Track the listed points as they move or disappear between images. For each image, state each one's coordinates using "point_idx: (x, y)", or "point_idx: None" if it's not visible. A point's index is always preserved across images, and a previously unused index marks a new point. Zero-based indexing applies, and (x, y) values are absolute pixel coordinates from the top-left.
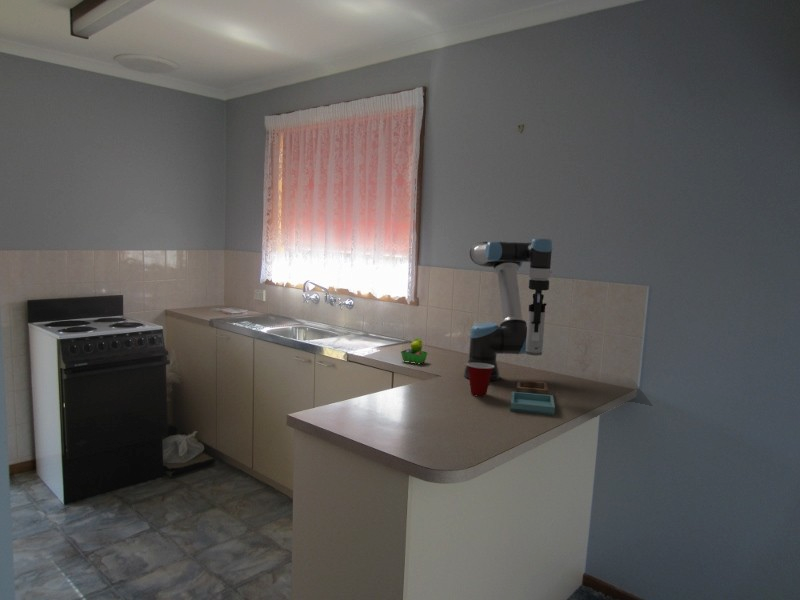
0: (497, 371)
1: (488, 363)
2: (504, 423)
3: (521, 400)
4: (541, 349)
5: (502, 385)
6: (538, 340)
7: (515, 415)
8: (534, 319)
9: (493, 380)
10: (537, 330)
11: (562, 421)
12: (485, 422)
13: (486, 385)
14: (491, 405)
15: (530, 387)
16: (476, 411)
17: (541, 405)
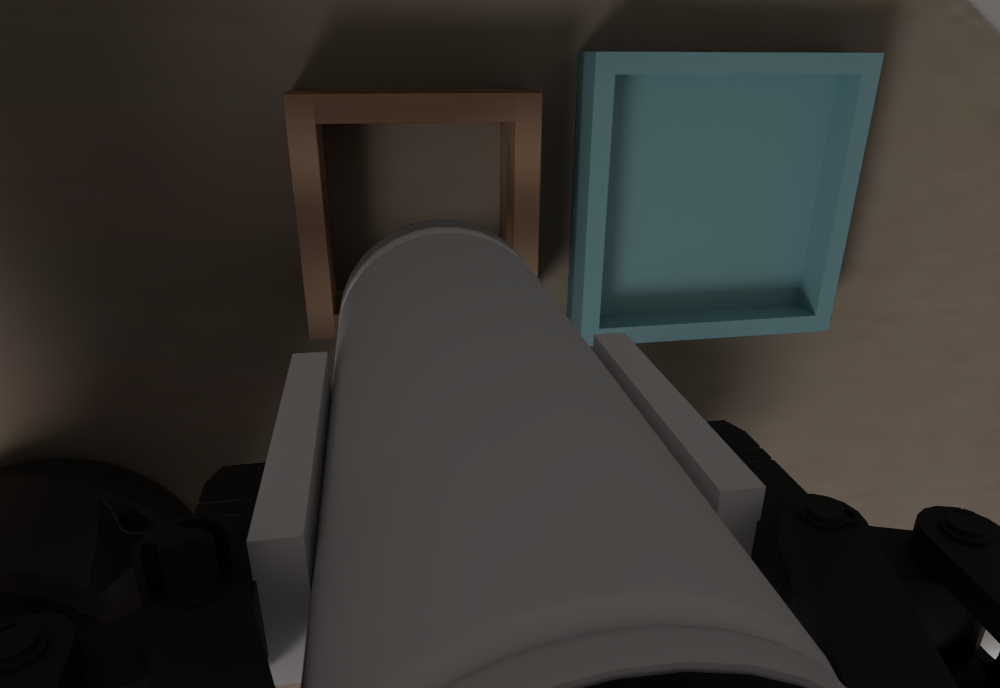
0: (69, 504)
1: (121, 608)
2: (986, 323)
3: (640, 268)
4: (500, 247)
5: (242, 412)
6: (626, 343)
7: (865, 281)
8: (996, 676)
9: (154, 484)
10: (753, 450)
11: (945, 4)
12: (975, 403)
13: None
14: (716, 415)
15: (327, 224)
16: (826, 464)
17: (855, 145)
